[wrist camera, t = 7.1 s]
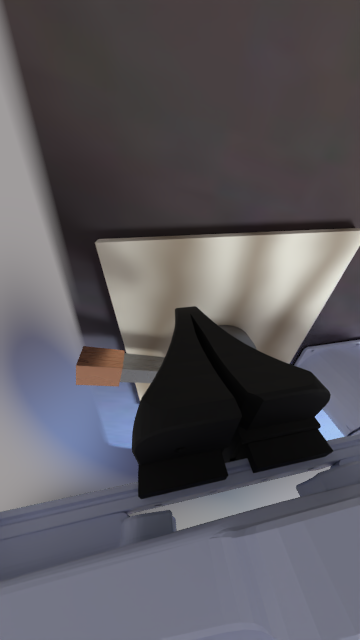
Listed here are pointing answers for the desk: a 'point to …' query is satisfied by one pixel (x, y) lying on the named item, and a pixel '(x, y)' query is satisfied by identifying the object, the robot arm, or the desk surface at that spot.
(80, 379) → the frying pan
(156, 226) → the desk surface
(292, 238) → the board
